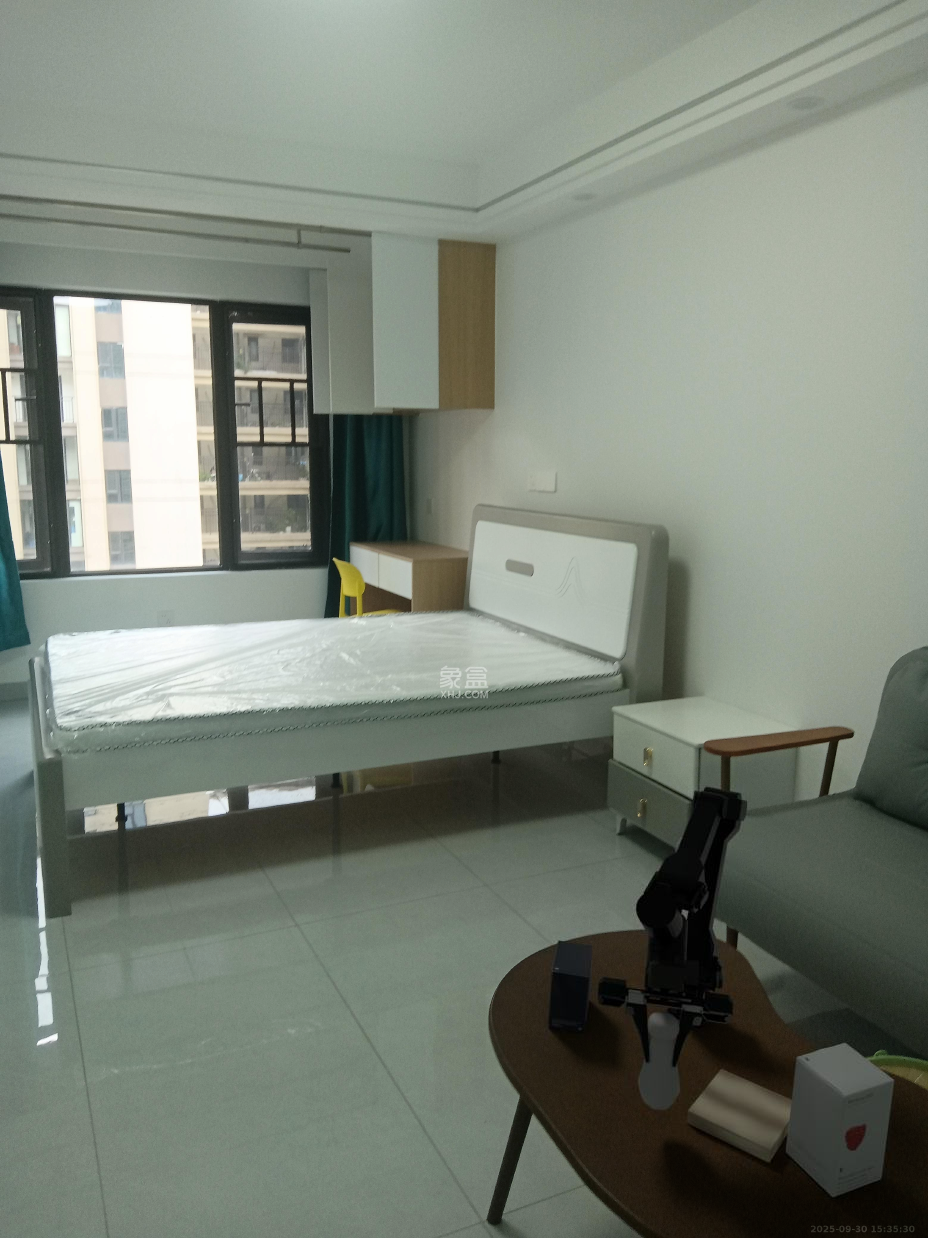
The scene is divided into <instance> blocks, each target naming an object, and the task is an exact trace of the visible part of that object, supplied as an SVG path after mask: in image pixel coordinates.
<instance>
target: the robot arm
mask: <svg viewBox="0 0 928 1238" xmlns="http://www.w3.org/2000/svg"><path fill="white" fill-rule="evenodd" d="M690 809H691V814H690V817H689V820H688V822H687V824H686V826H685V829H684V831H683V834H682V836H681V839H680V842H679V844H678V847H677V849H676V851H675V852H674V853H672V854H670V855H668V856H667V857H665V858H664V859H663V861H662V863H661V865H660V867H659V869H658V870H656V871H654V873H653V875H652V877H651V879H650V880H649V883H648V884H647V886H646V888H645V889H644V891H643V893H642V894H641V896H640V897H639V898H638V899H637V901H636V904H635V912H636V916H637V919H638V920H639V922H640V924H641V925H642V927H643V929H644V931H645V932H646V934H647V942H646V943H647V945H646V946H647V947H646V959H645V960H646V961H645V969H644V989H639V988H633V987H628V984H627V981H628V980H626V979H622V978H621V979H620V978H613V977H608V976H607V977H606V976H602V978H601V979H599V981H598V988H597V989H598V990H597V1001H598V1005H601V1006H606V1007H612V1008H619V1009H620V1008H621V1007H622V1006H624V1005H625V1015H628V1016H631V1017H632V1019H633V1021H634V1025H635V1027H636V1030H637V1032H638V1036H639V1039H640V1044H641V1049H642V1053H643V1056H644V1057H643V1058H644V1059H645V1062H646V1063H648V1062H649V1042H650V1039H649V1031H648V1006H647V1005H649V1006H657V1007H662V1008H663V1007H664V1008H667V1009H666V1012H668V1013H670V1014H672V1015H673V1016H674V1017H675V1018H676V1017H677V1018H679V1020H678V1023H679V1033H678V1035H677V1037H676V1038H675V1049H674V1056H673V1067H674V1068H675V1067H676V1065H677V1066H678V1062H679V1058H680V1056H681V1053H682V1050H683V1047H684V1044H685V1041H686V1039H687V1038H688V1036H689V1034H690V1032H691V1030H692V1028H693V1027H694V1026H699V1027H703V1026H704V1025H705V1024H706V1023H707V1022H714V1023H719V1024H730V1023H731V1022H732V1021H731V1020H732V1019H733V1016H734V1000H733V999H732V997H731V996H730V995H729V994H724V993H719V992H718V993H717V990H719V989H723V988H724V982H725V981H724V980H725V979H724V978H725V977H724V976H725V974H724V964H723V961H722V959H721V957H720V956H719V952H720V945H719V941H718V940H717V936H716V934H715V931H714V928H713V927H714V922H715V917H716V916H715V915H716V913H717V911H716V910H717V905H718V900H719V899H718V898H719V895H720V889H721V882H722V876H723V871H724V866H725V860H726V855H727V850H728V849H727V847H728V843H729V842H730V841H731V840H732V839H733V838H734V837H735V836H736V835H737V834H738V833H739V831H740V829H741V826H742V825H741V824H742V822H744V821H745V819H746V816H747V810H748V801H747V800H746V799H745V800H744V799H743V797H742V793H741V792H738V791H734V790H733V791H731V790H728V789H721V788H717V787H712V786H711V787H710V786H704V789H703V790H694V791H693V796H692V803H691V808H690ZM683 911H687V916H685V915H684V914H683ZM711 991H712V992H711Z"/></svg>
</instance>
